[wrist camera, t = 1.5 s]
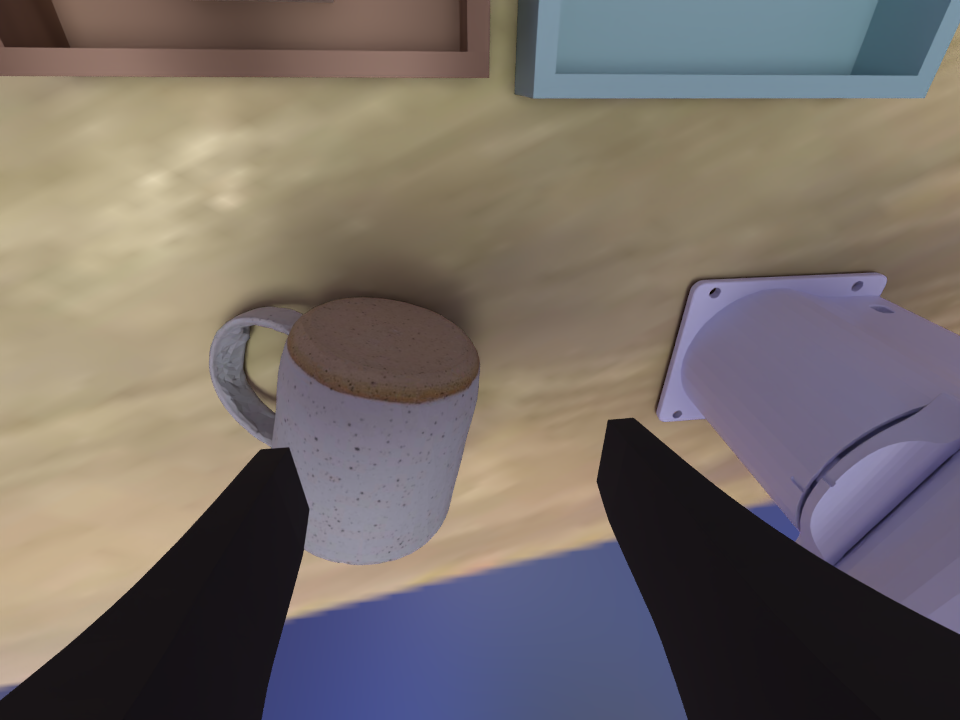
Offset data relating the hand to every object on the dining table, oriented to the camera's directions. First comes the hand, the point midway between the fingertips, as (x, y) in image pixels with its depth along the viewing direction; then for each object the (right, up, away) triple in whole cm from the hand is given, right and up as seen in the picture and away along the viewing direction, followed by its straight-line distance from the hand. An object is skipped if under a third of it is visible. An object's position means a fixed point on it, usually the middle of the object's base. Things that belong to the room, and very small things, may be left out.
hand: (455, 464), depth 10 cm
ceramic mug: (-5, +2, +11) cm, 12 cm away
